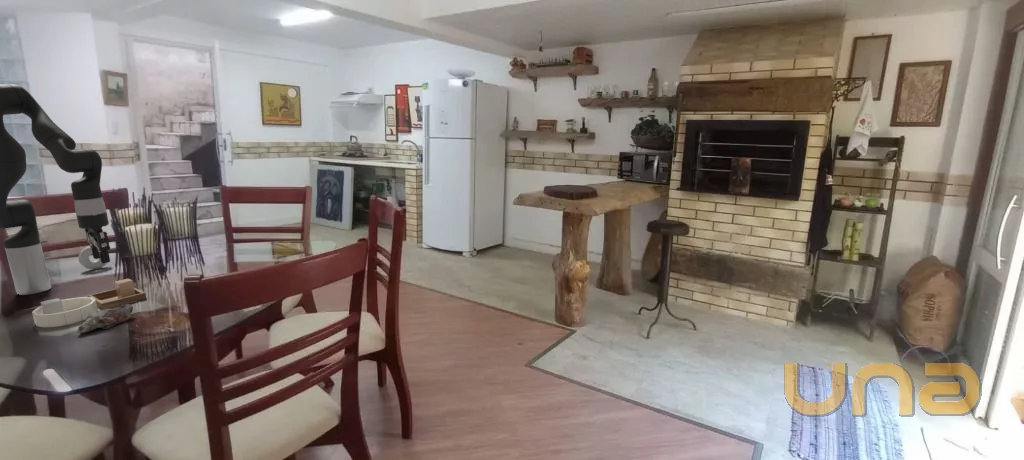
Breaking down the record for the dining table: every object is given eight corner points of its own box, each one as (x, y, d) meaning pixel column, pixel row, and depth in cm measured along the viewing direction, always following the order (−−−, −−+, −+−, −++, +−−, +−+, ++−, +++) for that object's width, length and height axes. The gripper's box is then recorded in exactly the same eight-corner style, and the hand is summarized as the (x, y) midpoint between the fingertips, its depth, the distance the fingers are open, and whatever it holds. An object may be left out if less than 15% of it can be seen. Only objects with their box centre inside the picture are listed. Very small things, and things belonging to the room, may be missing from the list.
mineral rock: (81, 338, 141) (77, 323, 140) (72, 331, 145) (69, 317, 144) (142, 320, 152) (139, 307, 151) (132, 314, 157) (129, 301, 156)
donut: (82, 272, 201) (76, 249, 198) (80, 271, 203) (74, 247, 200) (112, 266, 208) (107, 243, 206) (110, 265, 210) (105, 242, 208)
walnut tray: (89, 302, 168) (87, 295, 167) (131, 291, 177) (129, 285, 177) (103, 310, 160) (101, 303, 159) (146, 299, 169) (145, 292, 169)
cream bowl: (30, 321, 153) (27, 308, 152) (89, 306, 164) (86, 294, 163) (43, 332, 144) (40, 318, 144) (104, 315, 156) (101, 303, 155)
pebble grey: (45, 320, 151) (40, 302, 150) (62, 316, 155) (57, 298, 153) (48, 323, 149) (44, 304, 148) (65, 318, 152) (61, 300, 151)
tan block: (117, 298, 170) (114, 281, 169) (131, 294, 173) (128, 278, 172) (122, 300, 168) (118, 283, 166) (136, 296, 171) (132, 280, 170)
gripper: (70, 211, 160) (81, 259, 164) (82, 216, 152) (94, 267, 155) (99, 208, 166) (109, 254, 170) (112, 212, 158) (122, 261, 161)
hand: (102, 260), depth 163 cm, fingers open, 8 cm apart
